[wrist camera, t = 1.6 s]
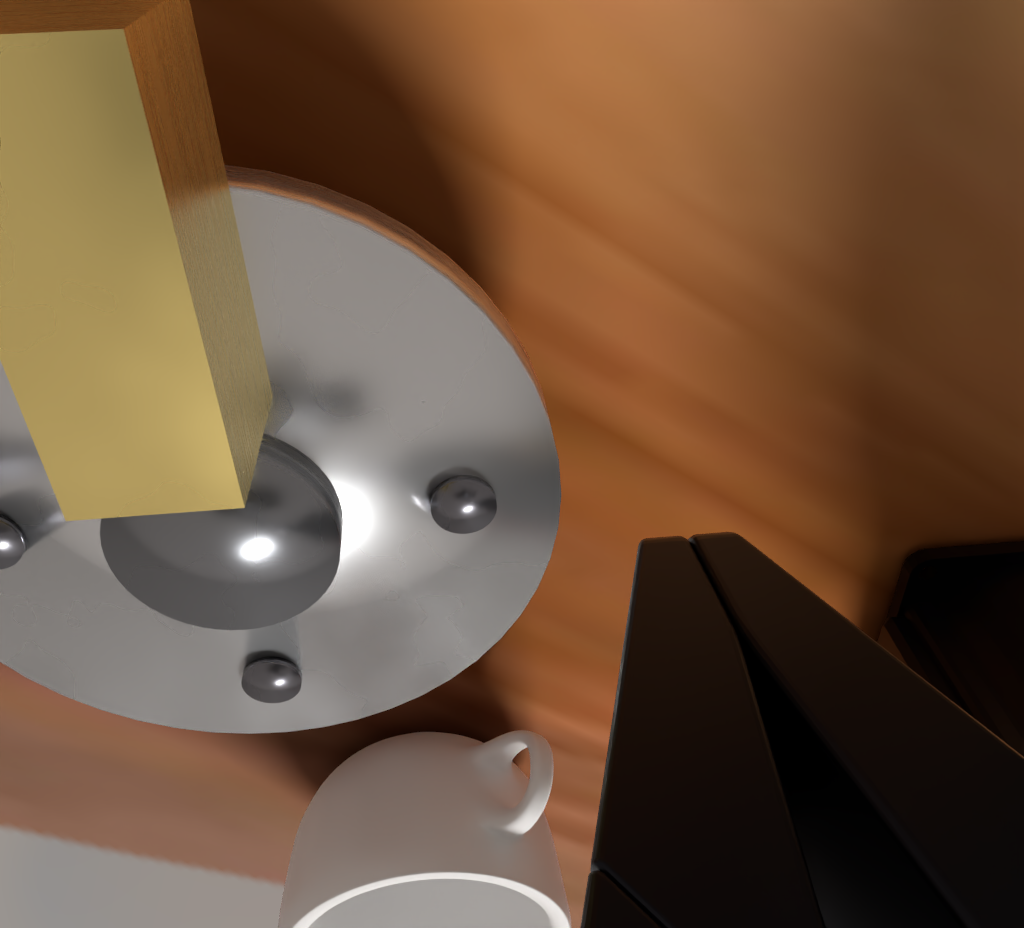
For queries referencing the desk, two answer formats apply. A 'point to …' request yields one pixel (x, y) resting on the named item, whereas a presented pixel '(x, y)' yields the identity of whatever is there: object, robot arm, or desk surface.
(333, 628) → the flange plate
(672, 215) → the desk surface
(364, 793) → the teacup
